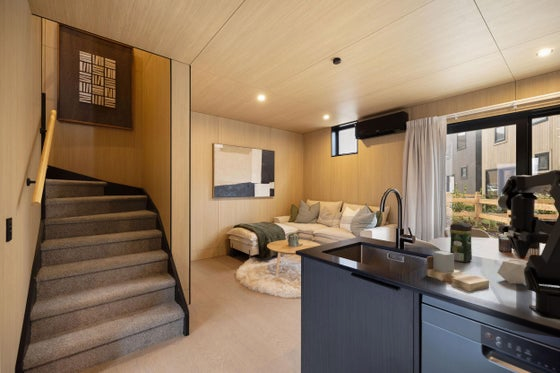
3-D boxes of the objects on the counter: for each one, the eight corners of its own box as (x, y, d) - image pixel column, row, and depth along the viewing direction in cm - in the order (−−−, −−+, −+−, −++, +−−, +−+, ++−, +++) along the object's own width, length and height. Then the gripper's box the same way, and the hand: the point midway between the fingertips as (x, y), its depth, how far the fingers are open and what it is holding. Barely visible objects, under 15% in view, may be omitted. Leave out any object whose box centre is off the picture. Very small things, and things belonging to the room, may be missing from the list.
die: (532, 290, 90) (538, 266, 93) (507, 277, 92) (514, 254, 95) (512, 290, 98) (518, 267, 101) (489, 277, 99) (496, 256, 102)
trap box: (488, 287, 91) (489, 266, 91) (469, 291, 88) (469, 269, 88) (444, 272, 107) (444, 254, 107) (426, 275, 103) (426, 256, 103)
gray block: (454, 271, 100) (454, 253, 100) (445, 272, 99) (445, 255, 99) (441, 267, 105) (442, 250, 105) (433, 268, 103) (433, 251, 103)
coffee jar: (455, 256, 131) (456, 220, 131) (474, 260, 124) (474, 222, 124) (446, 259, 125) (447, 222, 125) (465, 263, 119) (466, 224, 119)
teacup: (504, 273, 106) (504, 260, 106) (509, 270, 110) (509, 257, 110) (537, 281, 98) (538, 267, 98) (542, 277, 102) (542, 263, 102)
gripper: (575, 217, 74) (574, 270, 74) (535, 210, 92) (534, 253, 92) (527, 215, 78) (526, 265, 78) (497, 209, 95) (497, 251, 96)
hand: (521, 258), depth 86 cm, fingers closed
